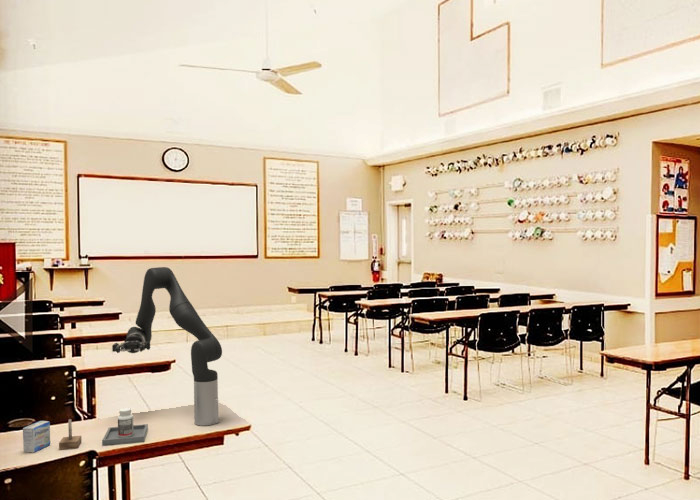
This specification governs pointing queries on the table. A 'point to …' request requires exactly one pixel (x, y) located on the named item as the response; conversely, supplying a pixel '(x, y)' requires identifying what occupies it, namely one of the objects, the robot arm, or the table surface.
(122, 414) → the pill bottle
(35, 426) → the medicine box
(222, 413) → the table surface
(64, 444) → the stand
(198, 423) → the robot arm
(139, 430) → the tray
